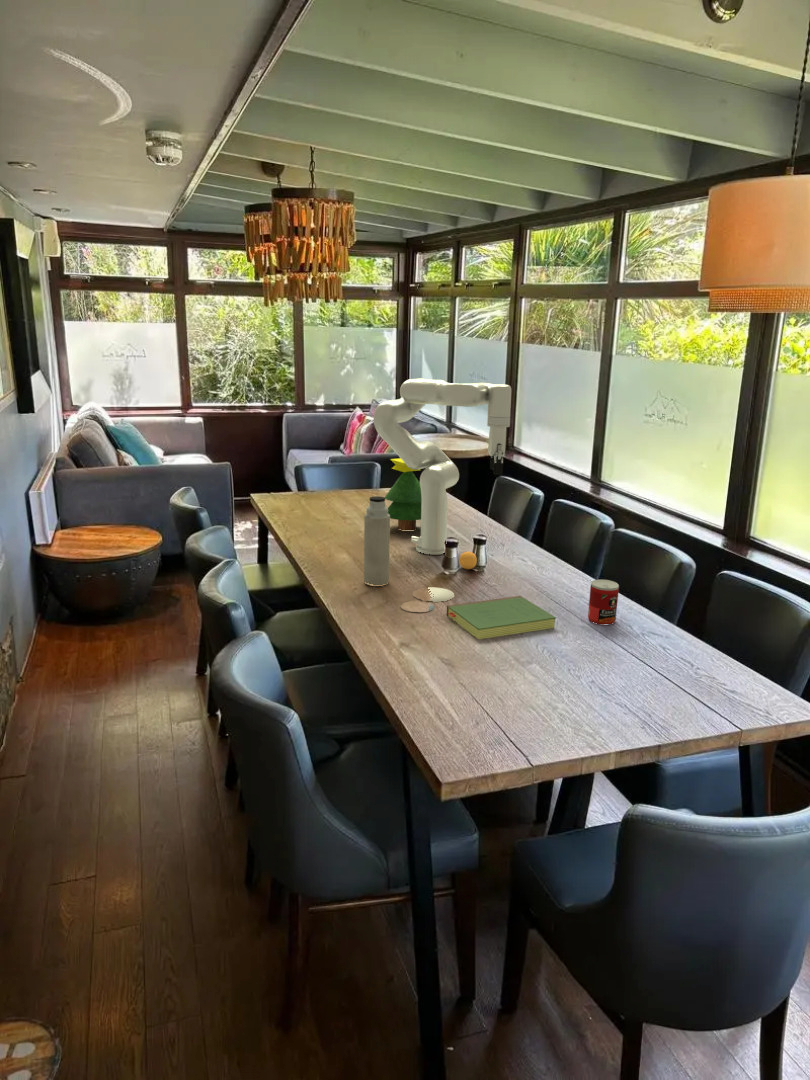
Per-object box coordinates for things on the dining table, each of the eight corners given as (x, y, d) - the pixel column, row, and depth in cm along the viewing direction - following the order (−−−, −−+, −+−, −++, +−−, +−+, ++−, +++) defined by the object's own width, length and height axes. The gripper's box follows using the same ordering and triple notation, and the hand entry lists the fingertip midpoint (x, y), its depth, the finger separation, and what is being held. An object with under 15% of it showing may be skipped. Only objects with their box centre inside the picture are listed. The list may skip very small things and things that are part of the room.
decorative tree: (440, 531, 311) (442, 457, 303) (400, 538, 301) (402, 461, 293) (412, 521, 326) (414, 450, 318) (373, 527, 316) (374, 453, 308)
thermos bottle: (376, 577, 253) (377, 493, 246) (393, 583, 248) (395, 497, 241) (358, 582, 248) (359, 497, 240) (376, 588, 243) (377, 501, 235)
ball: (456, 569, 263) (456, 552, 262) (462, 565, 268) (463, 548, 267) (472, 572, 261) (473, 555, 259) (479, 567, 266) (479, 551, 264)
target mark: (404, 597, 235) (404, 596, 235) (423, 585, 247) (423, 584, 247) (443, 604, 230) (443, 604, 230) (460, 592, 241) (461, 591, 241)
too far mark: (394, 609, 226) (394, 608, 226) (409, 598, 234) (409, 598, 234) (425, 615, 221) (425, 614, 221) (439, 604, 230) (439, 604, 230)
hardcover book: (519, 607, 231) (520, 595, 230) (555, 630, 215) (556, 617, 213) (444, 618, 221) (444, 605, 220) (475, 642, 205) (476, 629, 204)
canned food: (600, 627, 216) (604, 589, 213) (581, 617, 222) (584, 581, 220) (621, 623, 219) (625, 586, 216) (602, 613, 226) (605, 577, 223)
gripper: (485, 418, 269) (483, 467, 274) (489, 424, 253) (487, 476, 257) (506, 419, 269) (504, 467, 274) (513, 425, 253) (510, 476, 257)
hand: (496, 472), depth 265 cm, fingers open, 9 cm apart
